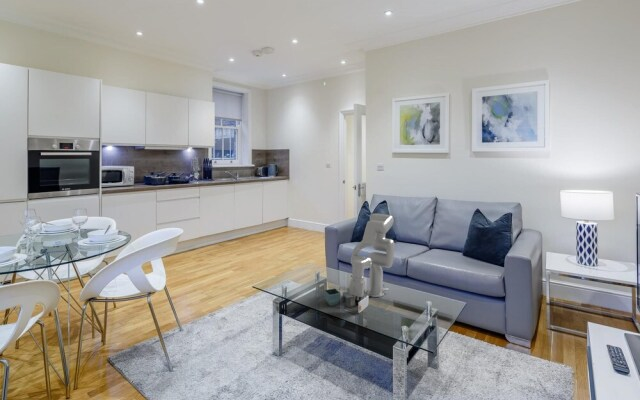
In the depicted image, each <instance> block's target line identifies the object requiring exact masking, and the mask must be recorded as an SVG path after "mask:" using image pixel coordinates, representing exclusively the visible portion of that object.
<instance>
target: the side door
mask: <svg viewBox="0 0 640 400" xmlns="http://www.w3.org/2000/svg"><path fill="white" fill-rule="evenodd" d="M369 301H370V296H366V297H365V298H364V299H362V300H361V301H360V302H359V303H358V306H357V314H361V312H362V311H364V310H365V309H366V308H367V307H369V305H368V304H370V303H369Z"/></svg>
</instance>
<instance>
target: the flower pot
mask: <svg viewBox="0 0 640 400" xmlns="http://www.w3.org/2000/svg"><path fill="white" fill-rule="evenodd" d="M323 293H324V294H323V295H324V299H325V301H326V302H327V304H328V305H329V306H330V307H331V306H336V305H338V304H339V302H340V299H341V292H340V291H339V290H338V289H337V288H330V289H325V290H323Z"/></svg>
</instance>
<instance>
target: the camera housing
mask: <svg viewBox="0 0 640 400" xmlns="http://www.w3.org/2000/svg"><path fill="white" fill-rule="evenodd" d="M366 296H369V295H368V294H367V291H365V297H366ZM369 297H370V296H369ZM362 299H364V298H361V299H360V301H361V300H362ZM341 303H342V304H343V305H344V306H345V308H353V307H354V308H355V307H356V308H357V306H356V305H355V299H354V297H353V296H352V295H350V293H349V291H343V292H342V297H341ZM369 304H370V303H369ZM369 304H368V306H369Z"/></svg>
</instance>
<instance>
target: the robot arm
mask: <svg viewBox="0 0 640 400" xmlns="http://www.w3.org/2000/svg"><path fill="white" fill-rule="evenodd" d="M394 222H395V221H394V217H393V216H392V215H391V214H386V213H385V214H381V213H371V214H370V215H369V220H368V221H367V223H366V226H365V228H364V229H365V230H364V233H363V237H362V240H361V241H360V242H359V243H358V244H357V245H355V247H354V248H353V250H352V253H351V257H350V264H351V265H352V267H351V268H352V269H351V270H352V274H350V277H351V279H350V282H349V289H348V292H349V293H350V295H352V296H353V297H354V299H355V305H356V307H358V303H359V302H360V299H361V298H365V292H366V293H367V294H368V295H369V297H373V298H380V297H384V295H385V292H389V288H388V287H387V288H386V287H383V282H384V281H383V277H384V276H383V275H384V271H383V268H387V269H389V268H391V267H393V264H394V257H395V256H394V255H395V246H396V245H395V244H396V243H395V242H394V240H393V239H391V238H386V234H387V233H388V232H389V230H390V229H391V228H392V226H393V225H394ZM371 246H372V249H373V250H375V251H372V252H370V253H369V254H368V257H367V256H364V255H359V253H360V252H361V251H362V250H363V249H364V248H368V247H371ZM377 251H379V252H377ZM383 252H384V253H383ZM368 269H369V281H368V282H369V283H368V285H369V286H368V288H369V289H368V290H367V291H366V281H365V279H364V278H365V270H368Z"/></svg>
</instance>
